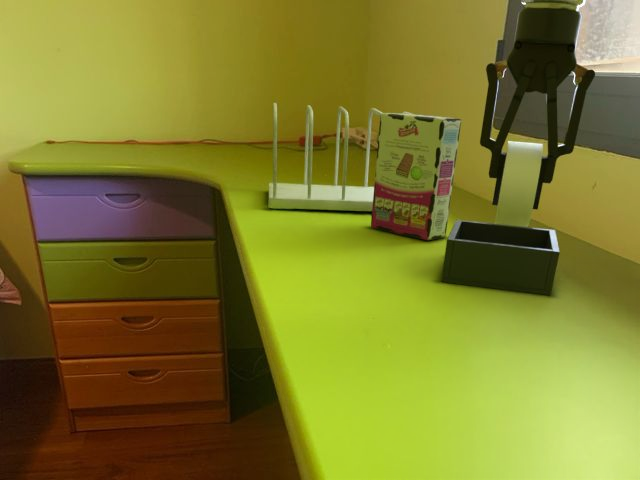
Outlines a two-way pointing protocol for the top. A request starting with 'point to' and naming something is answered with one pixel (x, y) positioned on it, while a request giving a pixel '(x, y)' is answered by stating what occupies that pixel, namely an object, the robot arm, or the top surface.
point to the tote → (501, 257)
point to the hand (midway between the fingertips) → (514, 205)
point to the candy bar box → (414, 174)
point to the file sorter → (322, 194)
